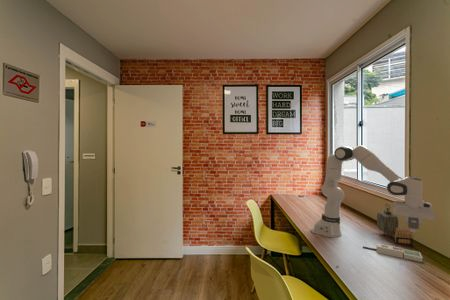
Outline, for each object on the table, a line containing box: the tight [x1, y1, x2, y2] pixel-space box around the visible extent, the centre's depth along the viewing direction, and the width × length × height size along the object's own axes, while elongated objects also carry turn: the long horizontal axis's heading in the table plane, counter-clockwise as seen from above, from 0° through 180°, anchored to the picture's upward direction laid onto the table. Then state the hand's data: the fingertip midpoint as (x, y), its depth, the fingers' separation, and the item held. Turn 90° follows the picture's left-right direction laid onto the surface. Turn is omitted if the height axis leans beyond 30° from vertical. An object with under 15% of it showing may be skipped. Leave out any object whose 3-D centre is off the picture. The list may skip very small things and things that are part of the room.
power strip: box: [362, 242, 404, 259], centre depth 155 cm, size 22×6×5 cm, turn 58°
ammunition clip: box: [394, 227, 414, 247], centre depth 167 cm, size 11×2×12 cm, turn 75°
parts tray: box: [402, 248, 424, 263], centre depth 148 cm, size 9×9×3 cm
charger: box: [407, 217, 420, 233], centre depth 147 cm, size 5×5×9 cm
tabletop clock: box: [376, 203, 399, 240], centre depth 182 cm, size 14×9×25 cm, turn 168°
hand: (413, 223), depth 147 cm, fingers closed on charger, 5 cm apart
